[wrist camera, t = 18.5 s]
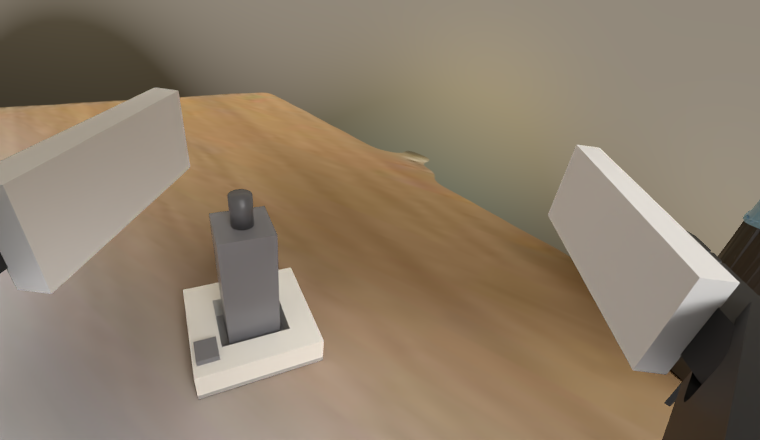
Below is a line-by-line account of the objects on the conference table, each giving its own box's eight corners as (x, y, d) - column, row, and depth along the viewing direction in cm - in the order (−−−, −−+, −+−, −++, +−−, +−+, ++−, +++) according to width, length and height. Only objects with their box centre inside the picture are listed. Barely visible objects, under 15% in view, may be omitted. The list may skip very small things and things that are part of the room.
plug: (269, 309, 46) (263, 178, 37) (280, 341, 43) (276, 205, 33) (223, 320, 44) (205, 184, 35) (231, 355, 40) (212, 214, 31)
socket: (290, 285, 51) (290, 263, 49) (322, 360, 42) (323, 336, 40) (186, 309, 45) (182, 285, 43) (198, 399, 37) (192, 375, 35)
